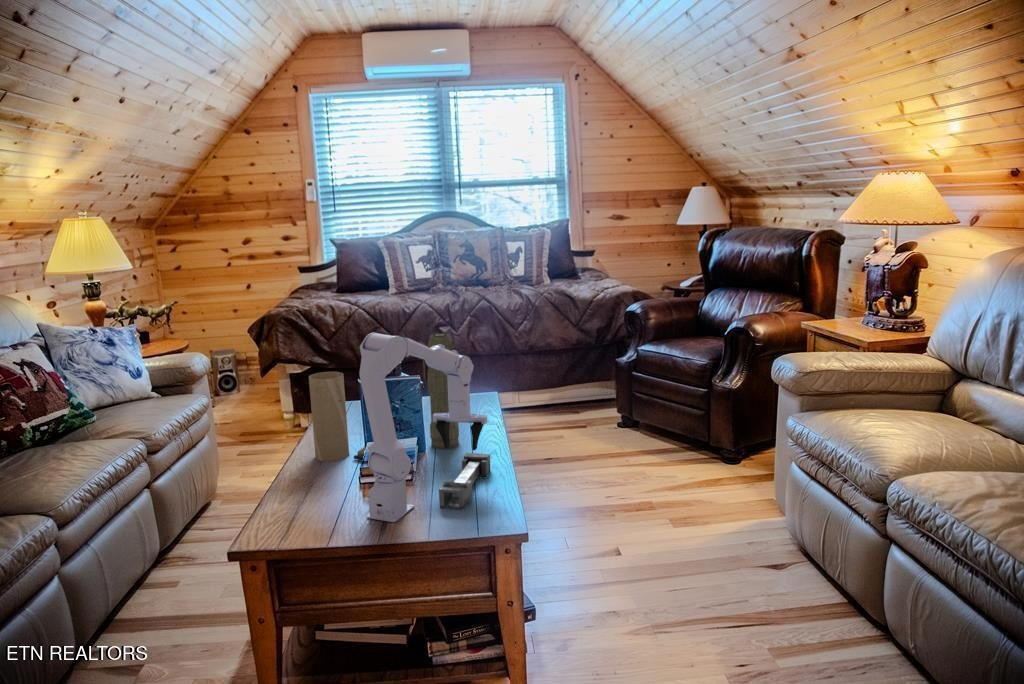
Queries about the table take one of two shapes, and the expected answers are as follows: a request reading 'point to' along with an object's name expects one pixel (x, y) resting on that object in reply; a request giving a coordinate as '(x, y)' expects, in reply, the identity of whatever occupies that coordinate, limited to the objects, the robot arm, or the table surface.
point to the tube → (329, 416)
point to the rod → (469, 474)
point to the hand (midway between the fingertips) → (461, 448)
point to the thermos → (439, 393)
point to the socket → (477, 456)
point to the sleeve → (455, 502)
